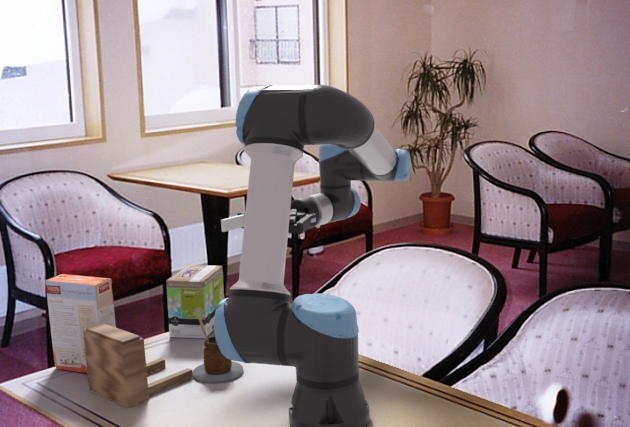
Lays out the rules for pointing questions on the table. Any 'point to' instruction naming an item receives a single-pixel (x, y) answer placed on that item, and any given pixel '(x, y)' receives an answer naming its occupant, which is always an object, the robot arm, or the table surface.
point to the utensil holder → (214, 356)
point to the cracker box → (76, 315)
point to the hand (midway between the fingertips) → (242, 229)
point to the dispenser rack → (123, 366)
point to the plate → (204, 377)
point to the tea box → (194, 300)
